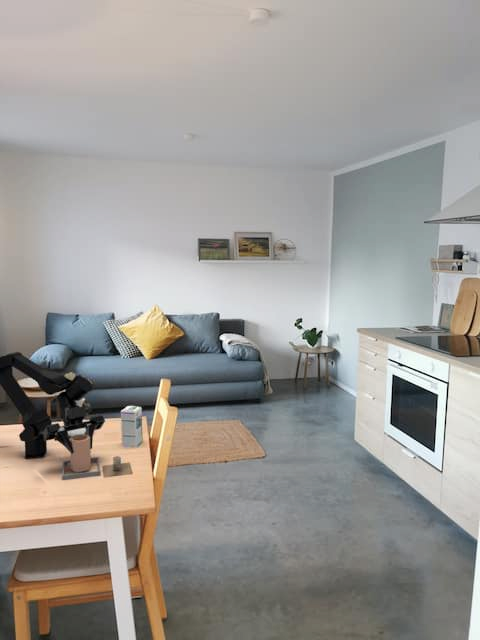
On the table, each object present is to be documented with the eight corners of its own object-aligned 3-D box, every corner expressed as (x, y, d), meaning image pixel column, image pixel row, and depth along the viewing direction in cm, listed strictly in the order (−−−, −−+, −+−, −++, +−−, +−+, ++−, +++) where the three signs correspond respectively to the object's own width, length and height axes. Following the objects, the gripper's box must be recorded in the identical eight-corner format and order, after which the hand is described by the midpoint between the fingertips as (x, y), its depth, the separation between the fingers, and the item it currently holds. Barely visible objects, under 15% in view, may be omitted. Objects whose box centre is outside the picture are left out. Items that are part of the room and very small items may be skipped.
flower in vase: (86, 426, 204) (84, 366, 201) (99, 434, 196) (98, 371, 192) (54, 434, 195) (52, 371, 192) (67, 442, 187) (64, 377, 184)
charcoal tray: (62, 483, 156) (62, 476, 155) (63, 467, 166) (62, 461, 166) (100, 478, 159) (100, 471, 159) (98, 463, 170) (98, 457, 169)
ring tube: (93, 464, 165) (92, 435, 163) (85, 472, 159) (84, 441, 158) (72, 462, 166) (71, 433, 164) (64, 470, 160) (63, 440, 159)
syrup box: (136, 450, 181) (136, 411, 179) (121, 448, 182) (120, 410, 180) (142, 444, 187) (142, 406, 185) (127, 442, 188) (127, 405, 186)
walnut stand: (103, 480, 158) (103, 465, 157) (102, 468, 166) (101, 454, 165) (133, 476, 160) (132, 461, 160) (130, 465, 169) (129, 450, 168)
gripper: (44, 400, 156) (58, 446, 150) (102, 391, 168) (117, 432, 161) (37, 418, 164) (50, 462, 157) (93, 407, 175) (107, 448, 168)
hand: (82, 450), depth 160 cm, fingers closed on ring tube, 6 cm apart
